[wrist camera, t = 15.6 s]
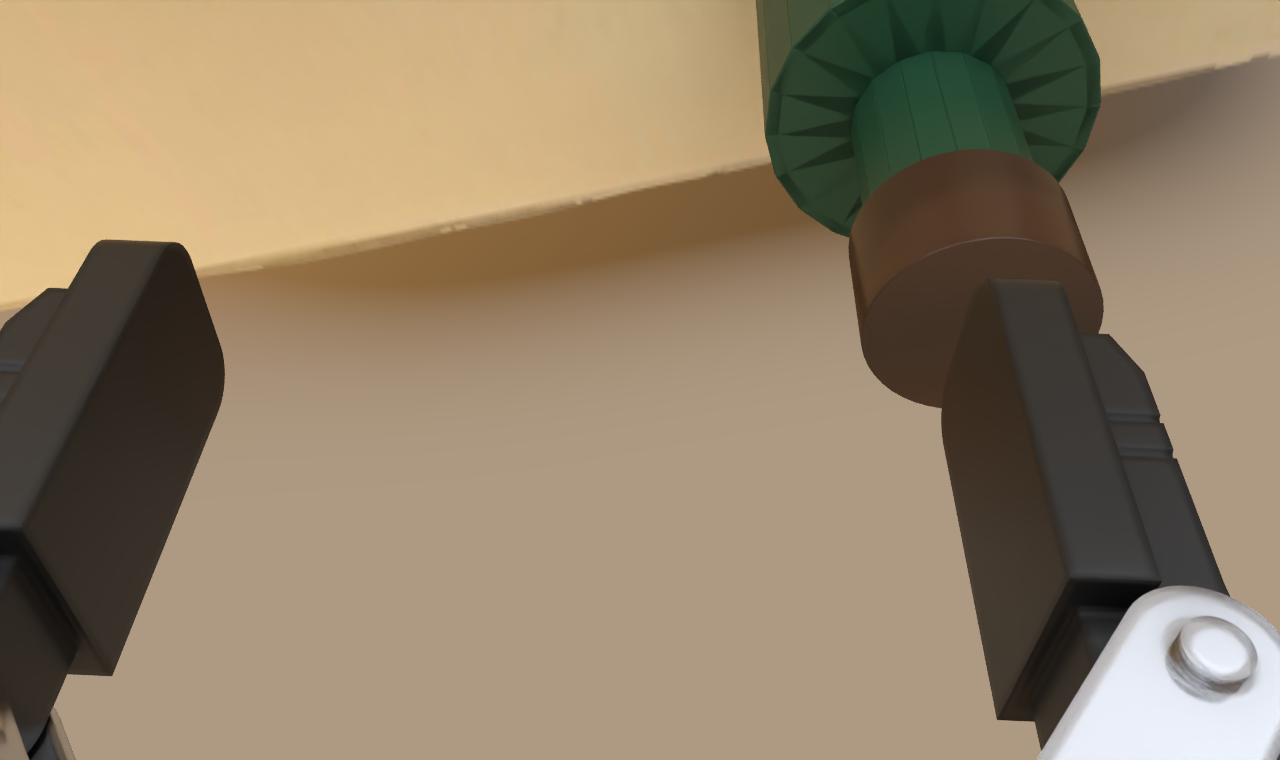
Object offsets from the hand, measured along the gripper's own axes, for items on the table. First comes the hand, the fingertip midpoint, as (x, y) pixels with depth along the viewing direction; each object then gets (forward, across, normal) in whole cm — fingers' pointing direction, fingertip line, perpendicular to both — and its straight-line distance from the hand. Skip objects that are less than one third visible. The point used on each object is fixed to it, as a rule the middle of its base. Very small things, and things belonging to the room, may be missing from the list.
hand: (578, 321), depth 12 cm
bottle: (+32, -8, +9) cm, 34 cm away
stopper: (+16, -8, +9) cm, 20 cm away
